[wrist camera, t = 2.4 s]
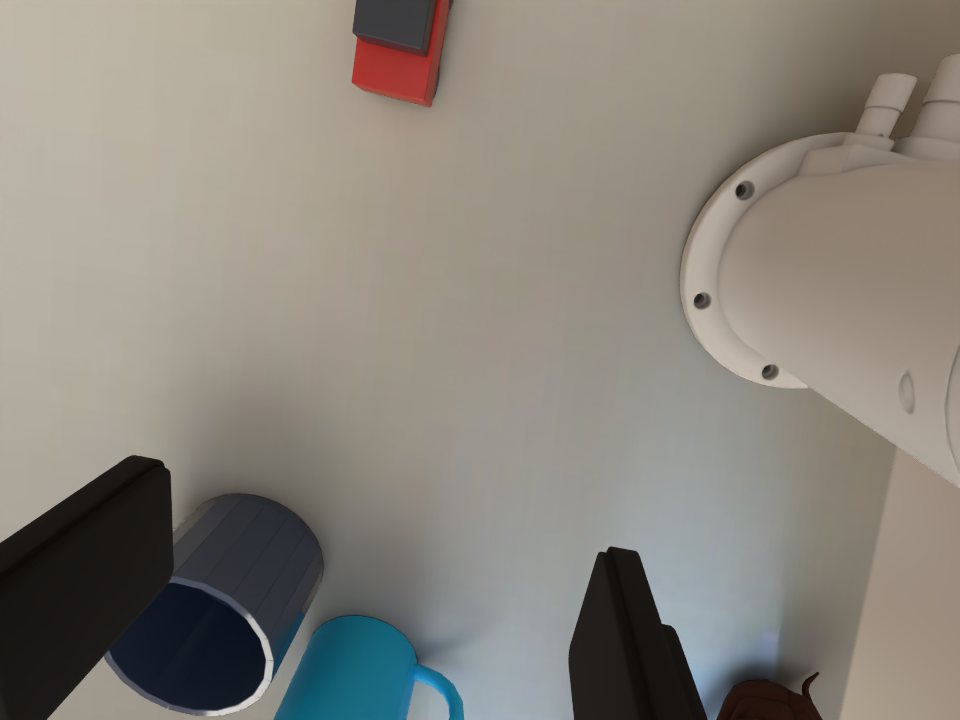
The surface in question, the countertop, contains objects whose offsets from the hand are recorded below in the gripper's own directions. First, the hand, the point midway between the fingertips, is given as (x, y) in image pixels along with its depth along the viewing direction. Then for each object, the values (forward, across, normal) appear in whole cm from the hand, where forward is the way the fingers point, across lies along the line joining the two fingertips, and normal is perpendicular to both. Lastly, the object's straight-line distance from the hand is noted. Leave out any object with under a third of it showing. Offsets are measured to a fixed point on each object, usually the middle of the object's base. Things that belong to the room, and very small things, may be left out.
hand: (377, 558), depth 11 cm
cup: (+19, +12, +19) cm, 29 cm away
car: (+19, +5, -14) cm, 24 cm away
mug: (+19, +2, +26) cm, 32 cm away
